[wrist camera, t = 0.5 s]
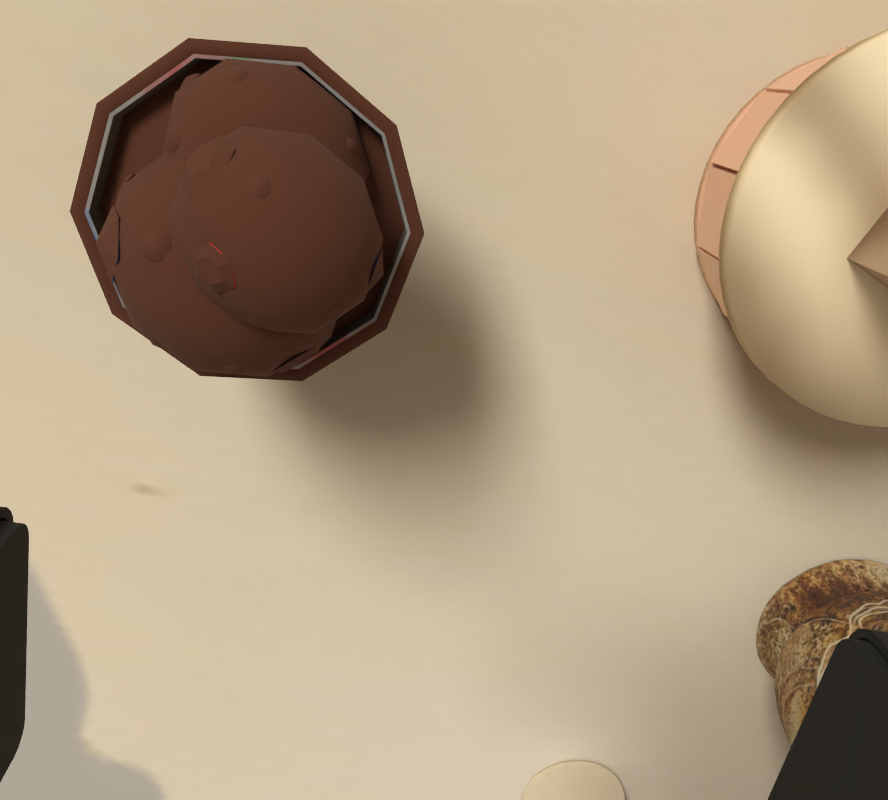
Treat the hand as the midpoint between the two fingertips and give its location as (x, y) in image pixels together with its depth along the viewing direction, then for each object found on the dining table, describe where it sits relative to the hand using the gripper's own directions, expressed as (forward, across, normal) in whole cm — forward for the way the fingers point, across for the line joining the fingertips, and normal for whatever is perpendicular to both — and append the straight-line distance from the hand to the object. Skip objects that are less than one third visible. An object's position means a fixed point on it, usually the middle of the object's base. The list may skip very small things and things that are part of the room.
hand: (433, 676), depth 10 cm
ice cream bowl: (+29, +5, -1) cm, 30 cm away
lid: (+23, -19, -4) cm, 30 cm away
